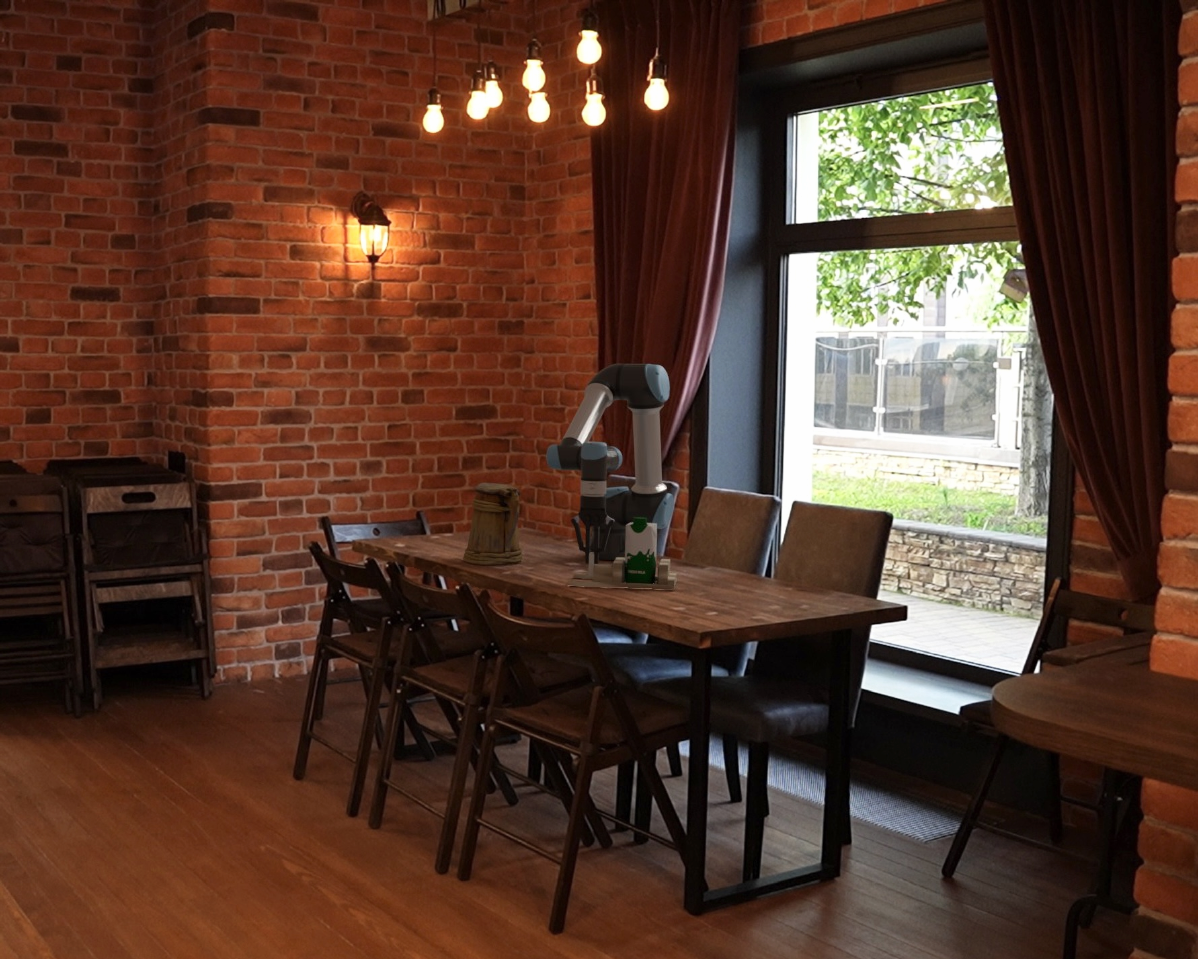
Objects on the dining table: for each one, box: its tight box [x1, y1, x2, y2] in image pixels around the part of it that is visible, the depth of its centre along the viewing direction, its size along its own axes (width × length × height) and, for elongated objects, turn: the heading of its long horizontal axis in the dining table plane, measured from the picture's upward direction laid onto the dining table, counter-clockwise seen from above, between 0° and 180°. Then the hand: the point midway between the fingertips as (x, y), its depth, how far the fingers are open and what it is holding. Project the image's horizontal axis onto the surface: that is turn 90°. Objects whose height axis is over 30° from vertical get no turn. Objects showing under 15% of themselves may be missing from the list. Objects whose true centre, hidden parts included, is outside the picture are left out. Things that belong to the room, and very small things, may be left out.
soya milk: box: [625, 517, 658, 584], centre depth 398 cm, size 9×9×20 cm
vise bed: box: [566, 558, 678, 590], centre depth 399 cm, size 16×31×7 cm, turn 84°
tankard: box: [462, 482, 523, 566], centre depth 434 cm, size 18×24×25 cm
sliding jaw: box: [592, 557, 626, 583], centre depth 400 cm, size 12×9×7 cm
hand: (591, 575), depth 400 cm, fingers closed
